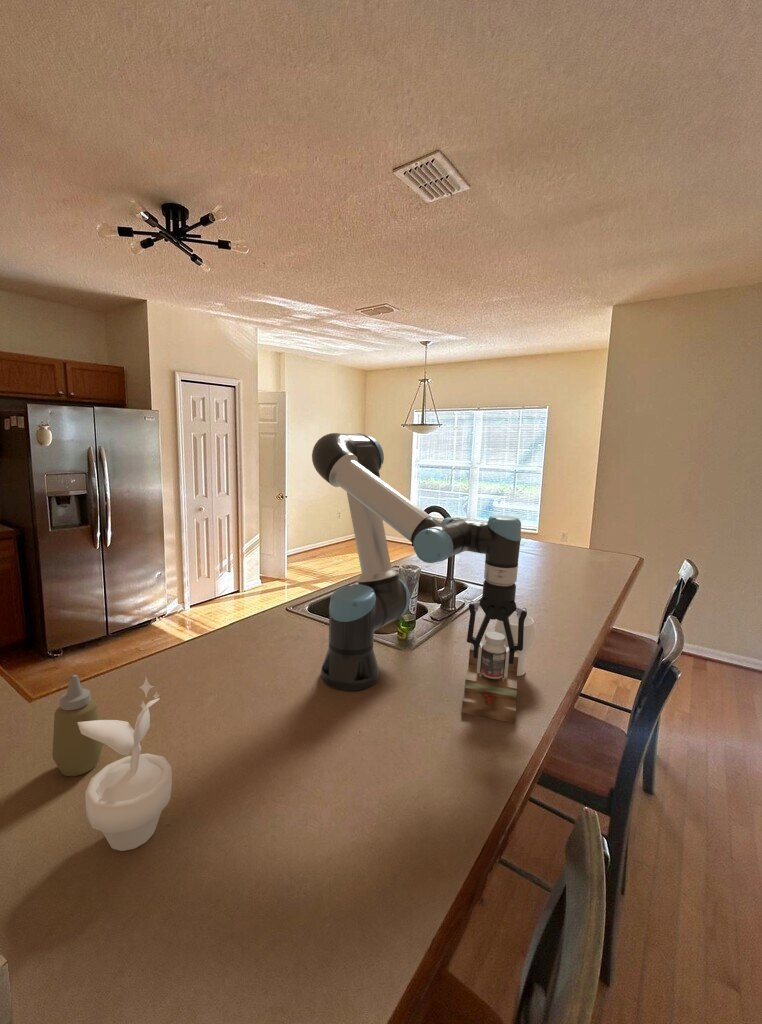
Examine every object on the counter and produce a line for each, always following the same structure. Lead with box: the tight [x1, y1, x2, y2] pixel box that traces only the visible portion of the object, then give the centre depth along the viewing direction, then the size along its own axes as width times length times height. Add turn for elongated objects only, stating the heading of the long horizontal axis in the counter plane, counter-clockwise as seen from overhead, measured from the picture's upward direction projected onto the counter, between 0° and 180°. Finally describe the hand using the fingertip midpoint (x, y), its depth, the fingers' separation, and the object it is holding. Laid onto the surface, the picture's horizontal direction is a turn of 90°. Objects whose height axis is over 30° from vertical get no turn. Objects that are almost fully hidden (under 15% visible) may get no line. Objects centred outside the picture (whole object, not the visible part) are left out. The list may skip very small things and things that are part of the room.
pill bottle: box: [480, 631, 506, 679], centre depth 112 cm, size 6×6×10 cm
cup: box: [494, 611, 536, 677], centre depth 128 cm, size 11×11×15 cm
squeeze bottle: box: [52, 674, 105, 777], centre depth 84 cm, size 8×8×18 cm
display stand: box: [461, 643, 518, 724], centre depth 113 cm, size 12×16×10 cm
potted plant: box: [77, 676, 173, 852], centre depth 70 cm, size 13×12×25 cm
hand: (492, 672), depth 113 cm, fingers closed on pill bottle, 6 cm apart
